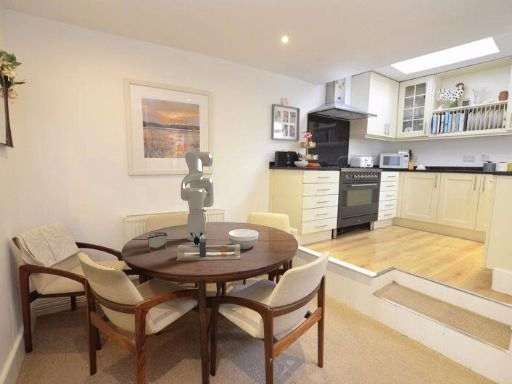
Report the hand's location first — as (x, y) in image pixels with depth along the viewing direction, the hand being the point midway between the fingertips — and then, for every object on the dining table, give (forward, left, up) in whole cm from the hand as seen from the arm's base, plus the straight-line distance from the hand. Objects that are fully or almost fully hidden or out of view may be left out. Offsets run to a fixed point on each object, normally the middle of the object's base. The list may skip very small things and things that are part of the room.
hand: (196, 244), depth 137 cm
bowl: (-18, +27, -8) cm, 33 cm away
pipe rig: (0, +7, -7) cm, 10 cm away
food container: (-14, -26, -8) cm, 31 cm away
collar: (0, +3, -6) cm, 7 cm away
